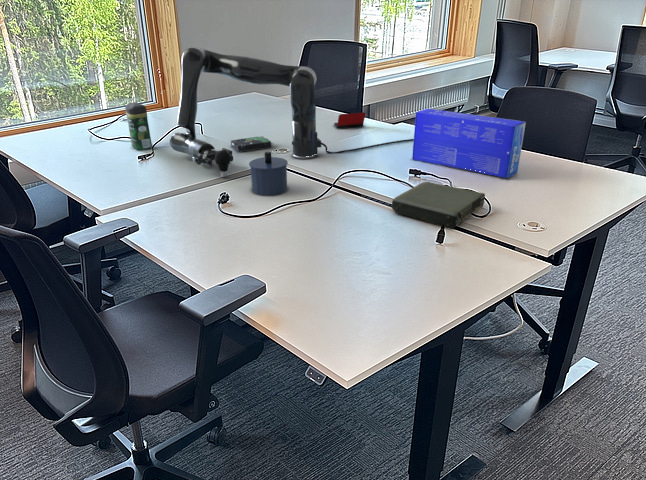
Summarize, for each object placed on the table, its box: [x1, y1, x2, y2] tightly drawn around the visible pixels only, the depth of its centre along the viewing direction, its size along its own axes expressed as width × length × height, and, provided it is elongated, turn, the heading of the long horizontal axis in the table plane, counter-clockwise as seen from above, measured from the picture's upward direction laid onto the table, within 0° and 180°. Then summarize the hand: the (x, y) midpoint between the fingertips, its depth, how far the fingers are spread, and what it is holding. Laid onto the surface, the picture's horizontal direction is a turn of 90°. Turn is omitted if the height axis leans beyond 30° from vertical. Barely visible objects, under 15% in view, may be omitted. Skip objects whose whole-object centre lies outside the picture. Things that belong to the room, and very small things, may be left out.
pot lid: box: [248, 151, 289, 170], centre depth 196 cm, size 13×13×5 cm
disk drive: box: [230, 136, 272, 153], centre depth 246 cm, size 10×3×15 cm
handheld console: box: [333, 112, 366, 130], centre depth 269 cm, size 12×11×7 cm
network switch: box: [391, 181, 486, 230], centre depth 178 cm, size 23×24×5 cm
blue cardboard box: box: [411, 108, 527, 179], centre depth 211 cm, size 39×8×18 cm, turn 47°
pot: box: [250, 164, 288, 197], centre depth 199 cm, size 12×12×9 cm
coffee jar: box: [125, 101, 153, 151], centre depth 247 cm, size 10×8×19 cm
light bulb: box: [214, 149, 232, 179], centre depth 211 cm, size 6×6×10 cm
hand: (221, 160), depth 211 cm, fingers open, 8 cm apart
